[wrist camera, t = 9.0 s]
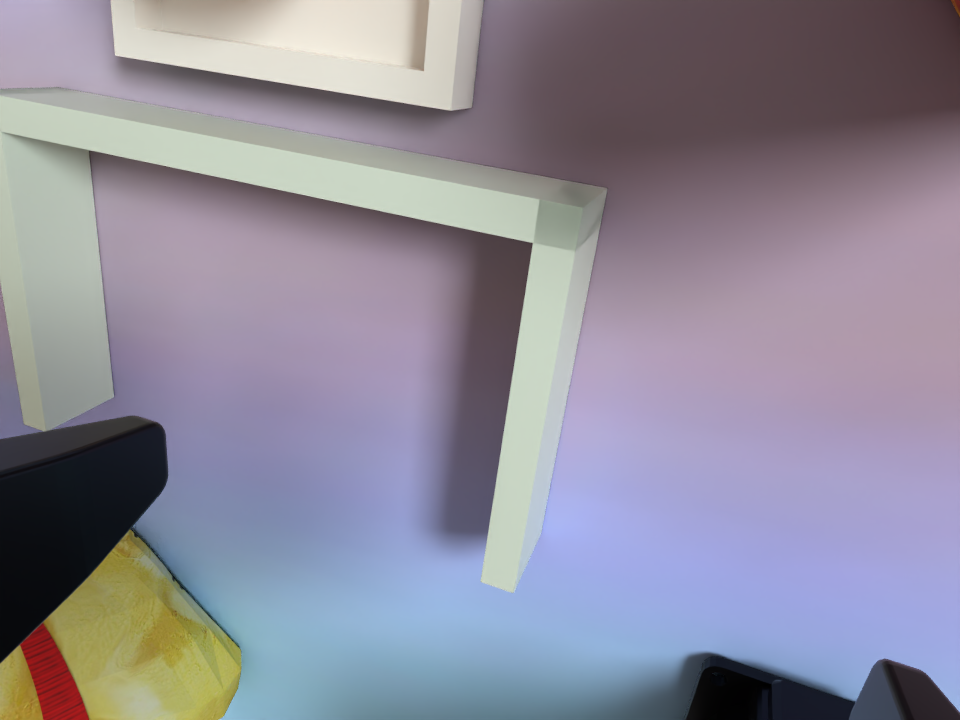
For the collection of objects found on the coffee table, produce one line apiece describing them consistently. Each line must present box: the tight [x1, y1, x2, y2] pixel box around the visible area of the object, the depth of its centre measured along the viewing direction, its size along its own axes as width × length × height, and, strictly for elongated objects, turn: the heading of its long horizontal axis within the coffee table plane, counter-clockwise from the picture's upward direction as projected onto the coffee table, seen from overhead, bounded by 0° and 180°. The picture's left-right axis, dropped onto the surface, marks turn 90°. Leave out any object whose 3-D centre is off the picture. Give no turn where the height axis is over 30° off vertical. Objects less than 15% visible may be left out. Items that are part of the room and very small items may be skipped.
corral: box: [0, 87, 608, 593], centre depth 22 cm, size 11×18×3 cm, turn 82°
